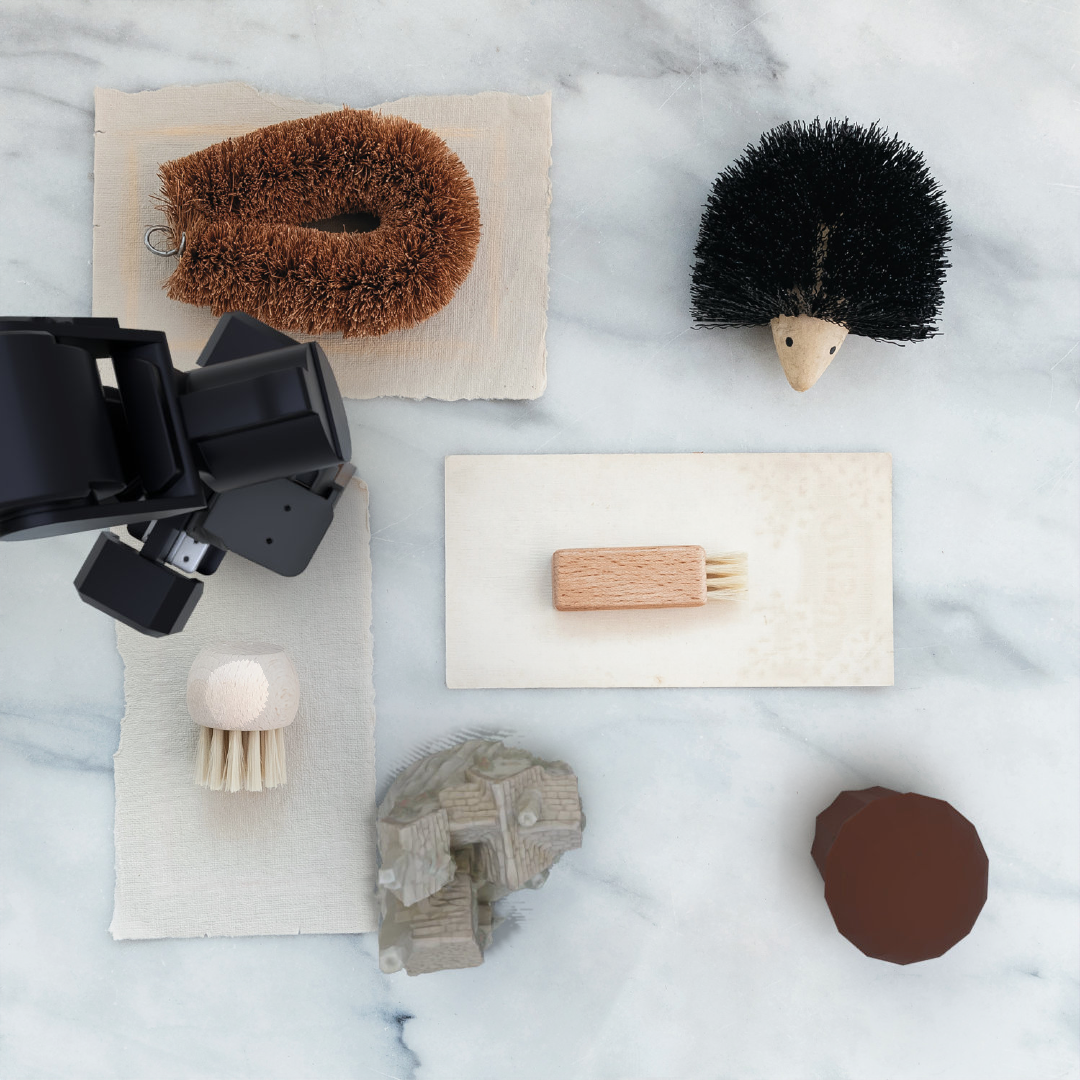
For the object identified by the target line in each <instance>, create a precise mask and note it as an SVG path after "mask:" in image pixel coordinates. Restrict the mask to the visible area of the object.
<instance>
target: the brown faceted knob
mask: <svg viewBox="0 0 1080 1080" xmlns="http://www.w3.org/2000/svg"><path fill="white" fill-rule="evenodd" d="M814 830H815V831H814V838H813V841H812V846H811V849H810V855H811V857H812V860H813V861H814V863H815V865H816V868H817V869H818V872H819V874H820V876H821V878H822V881H823V882H824V891H823V898H824V900H825V903H826V905H827V907H828V910H829V913H830V915H831V917H832V920H833V922H834V924H835V927H836V929H837V931H838V933H839V934H840V935H841V936H842V937H844V938H845V939H846V940H847V941H848V942H849V943H851V944H852V945H853V946H854V947H855V948H856V949H857V950H859V951H860V952H861V953H862V954H864V955H865V957H867V958H871V959H876V960H879V961H882V962H883V961H884V962H887V963H891V964H895V965H899V966H908V965H912V964H916V963H921V962H925V961H929V960H934V959H939V958H941V957H943V955H945V954H946V953H948V952H949V951H951V949H952V948H953V947H955V946H956V945H957V944H959V942H961V941H962V940H963V939H965V938H966V937H967V936H968V935H970V934H971V932H972V930H973V928H974V926H975V924H976V922H977V920H978V918H979V916H980V915H981V912H982V910H983V908H984V906H985V905H986V902H987V900H988V897H989V896H988V895H989V894H988V893H989V870H990V859H989V857H988V855H987V852H986V850H985V848H984V845H983V842H982V840H981V838H980V836H979V833H978V830H977V828H976V826H975V824H974V823H972V822H971V821H970V820H969V819H968V818H966V816H964V814H962V813H961V812H960V811H958V809H957V808H955V807H954V806H953V805H952V804H950V802H948V801H947V800H945V799H940V798H936V797H932V796H928V795H924V794H920V793H916V792H913V791H908V792H900V791H898V790H893V789H890V788H887V787H883V786H879V785H876V786H870V787H867V788H863V789H855V790H842V791H840V793H839V794H838V796H837V797H836V798H835V799H834V800H833V801H832V802H831V804H830V805H829V806H828V807H826V808H825V809H824V810H823V811H821V812H819V814H818V815H817V816H816V817H815V829H814Z"/></svg>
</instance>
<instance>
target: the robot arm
mask: <svg viewBox="0 0 1080 1080" xmlns="http://www.w3.org/2000/svg"><path fill="white" fill-rule="evenodd" d="M119 322H120V321H119V318H118V317H117V316H116V317H114V316H112V317H111V316H109V317H108V316H105V317H103V316H36V315H35V316H33V315H32V316H31V315H29V316H28V315H0V542H6V543H8V542H9V543H10V542H12V543H13V542H25V541H34V540H40V539H47V538H54V537H59V536H60V537H61V536H67V535H71V534H78V533H84V532H90V531H95V530H101V529H109V528H114V527H121V526H125V525H126V530H127V533H128V534H129V535H130V536H131V537H132V538H133V539H136V540H138V541H140V542H141V543H143V545H142V546H141V549H140V550H138V549H136V548H135V547H133V546H131V545H129V544H128V543H125V542H123V541H122V540H121V539H120V538H121V537H120V535H118V534H116V533H115V532H113V531H111V530H110V531H107V530H102V531H101V532H100V533H99V534H98V537H97V538H96V541H95V542H94V544H93V546H92V548H91V549H90V551H89V553H88V555H87V557H86V558H85V560H84V562H83V564H82V566H81V567H80V569H79V571H78V572H77V575H76V576H75V578H74V580H73V582H72V584H73V586H74V588H75V591H76V593H77V594H78V596H79V598H80V600H81V601H82V602H83V603H85V604H87V605H89V606H91V607H93V608H94V609H96V610H97V611H100V612H102V613H104V614H105V615H107V616H109V617H111V618H112V619H114V620H117V621H118V622H120V623H122V624H124V625H126V626H127V627H129V628H131V629H132V630H135V631H137V632H138V633H140V634H142V635H145V636H148V637H151V638H155V639H159V638H163V637H168V636H171V635H175V634H179V633H182V632H183V630H184V629H185V627H186V624H187V623H188V621H189V620H190V617H191V616H192V614H193V613H194V611H195V609H196V607H197V605H198V603H199V601H200V600H201V598H202V596H203V594H204V590H205V589H204V587H205V581H203V580H201V579H199V578H197V577H188V576H186V575H184V574H183V573H180V572H178V571H176V570H175V569H173V568H171V567H170V566H174V567H175V568H177V569H179V570H181V571H183V572H184V573H186V574H194V573H195V572H196V573H198V574H200V575H202V576H205V577H208V576H212V575H214V574H215V573H216V572H217V571H218V569H219V567H220V565H221V564H222V562H223V560H224V558H225V556H226V554H227V553H228V552H231V553H233V554H235V555H238V556H239V557H242V558H244V559H246V560H248V561H250V562H252V563H254V564H256V565H259V566H260V567H263V568H265V569H267V570H268V571H271V572H273V573H275V574H277V575H280V576H282V577H286V578H294V577H297V576H300V575H301V574H303V573H304V572H305V571H306V569H307V568H308V566H309V565H310V562H311V561H312V559H313V558H314V555H315V554H316V552H317V550H318V548H319V547H320V544H321V543H322V540H323V539H324V537H325V535H326V534H327V531H328V530H329V528H330V527H331V524H332V522H333V520H334V516H335V511H334V510H335V508H336V506H337V504H338V503H339V501H340V499H341V497H342V495H343V494H342V492H343V491H344V492H345V490H346V488H345V487H343V486H341V485H339V484H338V483H336V482H335V480H334V479H335V476H336V474H337V472H338V470H339V467H338V466H337V465H340V464H344V463H348V462H349V463H350V462H351V460H352V454H353V449H352V438H351V431H350V426H349V421H348V417H347V412H346V408H345V404H344V400H343V398H342V394H341V391H340V388H339V387H340V386H339V384H338V381H337V379H336V376H335V374H334V371H333V368H332V365H331V363H330V361H329V359H328V356H327V354H326V352H325V351H324V349H323V347H322V346H321V345H320V343H319V342H318V341H316V340H313V341H306V342H303V343H302V342H300V341H298V340H296V339H294V338H293V337H290V336H288V335H287V334H285V333H283V332H282V331H280V330H278V329H276V328H274V327H273V326H270V325H269V324H267V323H265V322H263V321H261V320H259V319H258V318H257V317H254V316H253V315H251V314H249V313H247V312H245V311H242V310H240V309H235V310H231V311H224V312H223V313H222V315H221V317H220V319H219V320H218V322H217V324H216V326H215V327H214V329H213V330H212V333H211V335H210V337H209V339H208V340H207V342H206V343H205V345H204V347H203V348H202V351H201V352H200V353H199V356H198V358H197V359H196V361H195V364H196V365H197V366H199V367H198V368H194V369H189V370H186V371H182V370H180V369H178V368H176V367H174V363H173V359H172V355H171V351H170V346H169V342H168V338H167V334H166V332H165V331H164V330H155V329H141V328H140V329H139V328H129V327H128V328H126V327H121V326H120V323H119ZM103 359H110V360H111V364H112V369H113V372H114V376H115V380H116V385H117V387H115V386H110V385H104V384H103V382H102V378H101V373H100V369H99V365H98V360H103ZM344 489H345V490H344ZM344 492H343V493H344ZM341 494H342V495H341ZM340 496H341V497H340ZM339 498H340V499H339ZM338 500H339V501H338ZM337 502H338V503H337ZM336 503H337V504H336ZM335 505H336V506H335ZM334 507H335V508H334ZM333 509H334V510H333ZM166 564H168V565H170V566H167V565H166Z"/></svg>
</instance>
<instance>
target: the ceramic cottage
mask: <svg viewBox="0 0 1080 1080" xmlns="http://www.w3.org/2000/svg"><path fill="white" fill-rule="evenodd" d="M578 783H579V778H578V776H577V775H576V774H575V773H574V770H573V767H572V766H571V765H570V764H569V763H567V762H565V761H564V760H556V761H555V760H554V761H546V760H545V759H544V758H543V757H542V756H538V757H534V755H533V753H532V751H529V750H527V749H524V748H520V749H519V748H518V747H517V746H512V747H506V746H505V744H504V742H503V741H501V742H500V741H493V740H487V739H479V738H477V739H470V740H466V741H464V742H461V743H459V744H455V745H454V746H452V748H446V749H442V750H440V751H438V752H435V753H433V754H431V755H427V756H424V757H423V758H421V759H419V760H416V761H415V762H413V763H412V764H410V765H409V766H406V768H404V769H403V770H401V771H400V772H399V773H398V774H397V776H396V778H395V779H394V780H393V782H392V783H391V785H390V786H389V788H388V790H387V792H386V794H385V796H384V798H383V801H382V802H381V804H380V805H379V806H378V810H377V819H376V821H375V825H374V826H375V829H376V832H377V841H376V844H377V848H378V852H379V854H380V858H381V861H380V868H379V869H378V874H377V877H376V879H375V885H376V887H377V889H376V892H375V895H374V899H375V900H376V901H377V902H378V907H379V912H380V914H381V915H382V924H381V927H380V929H379V932H378V969H379V970H380V971H381V972H382V974H385V975H391V974H396V973H398V972H401V971H402V970H403V969H404V970H405V971H406V975H407V976H408V977H418V976H420V975H421V974H424V975H425V974H432V973H436V972H439V971H446V970H462V969H463V970H464V969H470V968H471V969H472V968H478V967H480V966H481V965H483V964H484V963H485V955H484V951H487V950H488V949H489V948H490V946H491V945H492V944H493V943H494V939H493V932H494V931H495V930H496V929H498V928H499V927H500V926H502V925H503V924H504V923H505V922H506V920H507V917H506V916H498V915H497V914H496V908H495V903H497V902H498V901H500V900H502V899H503V898H505V897H508V896H510V895H511V894H513V893H516V892H519V891H523V890H526V889H528V890H532V891H533V890H534V891H536V890H540V889H542V888H543V887H544V885H545V883H546V882H547V880H548V879H549V877H550V875H551V872H550V871H549V870H552V869H553V868H554V865H557V864H559V863H560V860H561V858H562V857H563V856H564V853H565V852H567V851H572V850H577V849H582V847H583V832H584V831H585V829H586V827H587V816H586V815H585V813H584V812H583V802H582V798H581V797H580V796H579V788H578V787H579V786H578Z"/></svg>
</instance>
